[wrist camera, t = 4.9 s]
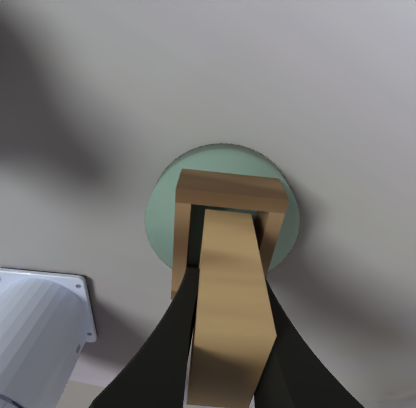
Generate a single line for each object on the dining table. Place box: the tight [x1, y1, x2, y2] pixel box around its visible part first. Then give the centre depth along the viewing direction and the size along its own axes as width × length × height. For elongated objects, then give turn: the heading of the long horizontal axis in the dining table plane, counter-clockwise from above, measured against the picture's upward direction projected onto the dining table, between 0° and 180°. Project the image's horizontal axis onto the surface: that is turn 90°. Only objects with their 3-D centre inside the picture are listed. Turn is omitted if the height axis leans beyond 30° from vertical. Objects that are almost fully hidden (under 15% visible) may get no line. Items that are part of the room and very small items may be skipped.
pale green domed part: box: [145, 143, 300, 272], centre depth 18 cm, size 10×10×2 cm
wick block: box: [187, 209, 277, 408], centre depth 12 cm, size 5×2×7 cm, turn 174°
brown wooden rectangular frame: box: [171, 168, 289, 300], centre depth 16 cm, size 8×6×2 cm
